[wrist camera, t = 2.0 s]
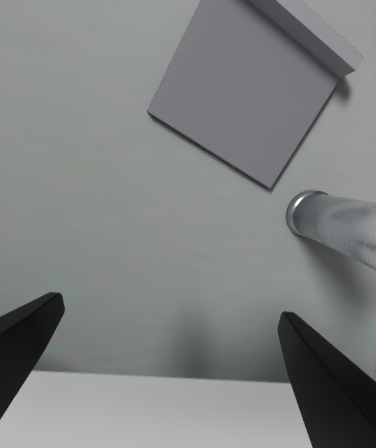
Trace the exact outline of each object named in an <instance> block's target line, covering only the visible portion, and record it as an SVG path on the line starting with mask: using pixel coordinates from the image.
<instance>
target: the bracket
mask: <svg viewBox="0 0 376 448" xmlns="http://www.w3.org/2000/svg"><path fill="white" fill-rule="evenodd" d="M363 58H364V56H363V55H362V54H360V53H359V52H358V51H357V50H356V49H355V48H354V47H353V46H352V45H351V44H349V43H348V42H347V41H346V40H345V39H344V38H343V37H342V36H341V35H340V34H339V33H337V32H336V31H335V30H334V29H333V28H332V27H331V26H330V25H329V24H328V23H326V22H325V21H324V20H323V19H322V18H321V17H320V16H319V15H318V14H317V13H316V12H314V11H313V10H312V9H311V8H310V7H309V6H308V5H307V4H306V3H305V2H303V1H302V0H200V2H199V4H198V7H197V9H196V11H195V13H194V15H193V17H192V19H191V21H190V23H189V25H188V27H187V29H186V31H185V33H184V35H183V38H182V40H181V42H180V44H179V46H178V48H177V50H176V52H175V54H174V56H173V58H172V60H171V62H170V64H169V66H168V69H167V71H166V73H165V75H164V77H163V79H162V81H161V83H160V85H159V87H158V89H157V91H156V93H155V95H154V97H153V99H152V102H151V104H150V106H149V108H148V110H147V112H148V113H149V114H150V115H152V116H154V117H155V118H157V119H158V120H160V121H162V122H163V123H165V124H166V125H168V126H169V127H171V128H173V129H174V130H176V131H177V132H179V133H181V134H182V135H184V136H185V137H187V138H189V139H190V140H192V141H193V142H195V143H197V144H198V145H200V146H201V147H203V148H205V149H206V150H208V151H209V152H211V153H213V154H214V155H216V156H217V157H219V158H221V159H222V160H224V161H225V162H227V163H229V164H230V165H232V166H233V167H235V168H236V169H238V170H240V171H241V172H243V173H244V174H246V175H248V176H249V177H251V178H252V179H254V180H256V181H257V182H259V183H260V184H262V185H264V186H265V187H267V188H271V186H272V185H273V183H274V182H275V180H276V179H277V177H278V175H279V174H280V172H281V171H282V169H283V168H284V166H285V164H286V163H287V161H288V160H289V158H290V157H291V155H292V153H293V152H294V150H295V149H296V147H297V146H298V144H299V142H300V141H301V139H302V138H303V136H304V134H305V133H306V131H307V130H308V128H309V127H310V125H311V123H312V122H313V120H314V119H315V117H316V116H317V114H318V112H319V111H320V109H321V108H322V106H323V105H324V103H325V101H326V100H327V98H328V97H329V95H330V94H331V92H332V90H333V89H334V87H335V86H336V84H337V83H338V81H339V79H340V78H341V77H343V76H345V75H347V74H349V73H351V72H353V71H355V70H356V69H357V67H358V66H359V64H360V63H361V61H362V59H363Z"/></svg>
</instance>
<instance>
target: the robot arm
mask: <svg viewBox="0 0 376 448" xmlns="http://www.w3.org/2000/svg"><path fill="white" fill-rule="evenodd" d="M64 311H65V307H64V302H63V297H62V294H61V293H56V292H50V293H47V294H45V295H43V296H41V297H39V298H37V299H35V300H33V301H31V302H29V303H27V304H25V305H23V306H21V307H19V308H17V309H15V310H13V311H11V312H9V313H7V314H5V315H3V316H1V317H0V419H1V418H2V416H3V414H4V413H5V411H6V410H7V408H8V407H9V405H10V404H11V402H12V400H13V399H14V397H15V396H16V394H17V393H18V391H19V389H20V388H21V386H22V385H23V383H24V382H25V380H26V379H27V377H28V376H29V374H30V373H31V371H32V369H33V368H34V366H35V365H36V363H37V362H38V360H39V359H40V357H41V355H42V354H43V352H44V350H45V349H46V347H47V345H48V343H49V341H50V339H51V337H52V335H53V334H54V332H55V330H56V328H57V326H58V324H59V322H60V320H61V318H62V316H63V314H64ZM278 335H279V339H280V344H281V348H282V352H283V356H284V361H285V365H286V369H287V373H288V376H289V379H290V383H291V385H292V388H293V391H294V394H295V397H296V400H297V403H298V406H299V409H300V412H301V415H302V418H303V421H304V424H305V427H306V430H307V432H308V435H309V438H310V441H311V444H312V447H313V448H376V381H374V380H373V379H372V378H371V377H370V376H369V375H367V374H366V373H365V372H364V371H363V370H361V369H360V368H359V367H358V366H357V365H355V364H354V363H353V362H352V361H351V360H350V359H348V358H347V357H346V356H345V355H344V354H342V353H341V352H340V351H339V350H338V349H337V348H335V347H334V346H333V345H332V344H331V343H329V342H328V341H327V340H326V339H325V338H323V337H322V336H321V335H320V334H319V333H318V332H316V331H315V330H314V329H313V328H312V327H310V326H309V325H308V324H307V323H306V322H305V321H303V320H302V319H301V318H300V317H299V316H297V315H296V314H295V313H293V312H285V311H284V312H282V314H281V317H280V321H279V324H278Z"/></svg>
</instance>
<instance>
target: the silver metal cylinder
mask: <svg viewBox="0 0 376 448" xmlns="http://www.w3.org/2000/svg"><path fill="white" fill-rule="evenodd" d="M286 221H287V224H288V226H289V228H290V229H291V230H292V231H293V232H294V233H296V234H298V235H300V236H303V237H307V238H311V239H313V240H315V241H317V242H319V243H321V244H324V245H326V246H328V247H330V248H332V249H334V250H336V251H338V252H340V253H342V254H344V255H346V256H348V257H350V258H352V259H354V260H356V261H358V262H360V263H362V264H364V265H366V266H368V267H370V268H372V269H375V270H376V203H371V202H365V201H360V200H354V199H348V198H342V197H337V196H331V195H328V194H327V193H325V192H321V191H315V190H308V191H304V192H302V193H300V194H298V195H297V196H296V197H295V198H294V199H293V200H292V201H291V202H290V204H289V206H288V208H287V212H286Z"/></svg>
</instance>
